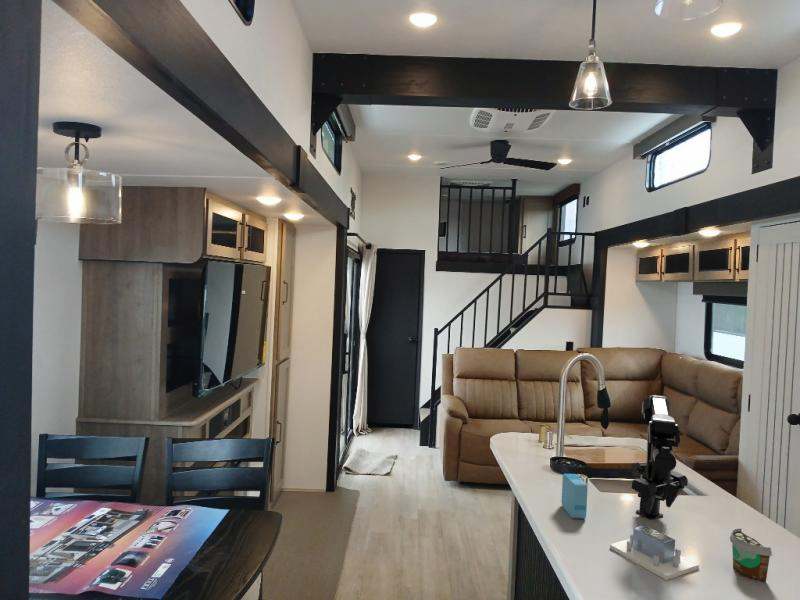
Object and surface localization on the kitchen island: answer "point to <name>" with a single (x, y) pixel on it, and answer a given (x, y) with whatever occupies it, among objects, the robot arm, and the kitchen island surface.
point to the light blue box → (574, 496)
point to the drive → (653, 543)
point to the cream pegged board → (655, 560)
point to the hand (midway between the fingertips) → (658, 509)
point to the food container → (749, 556)
